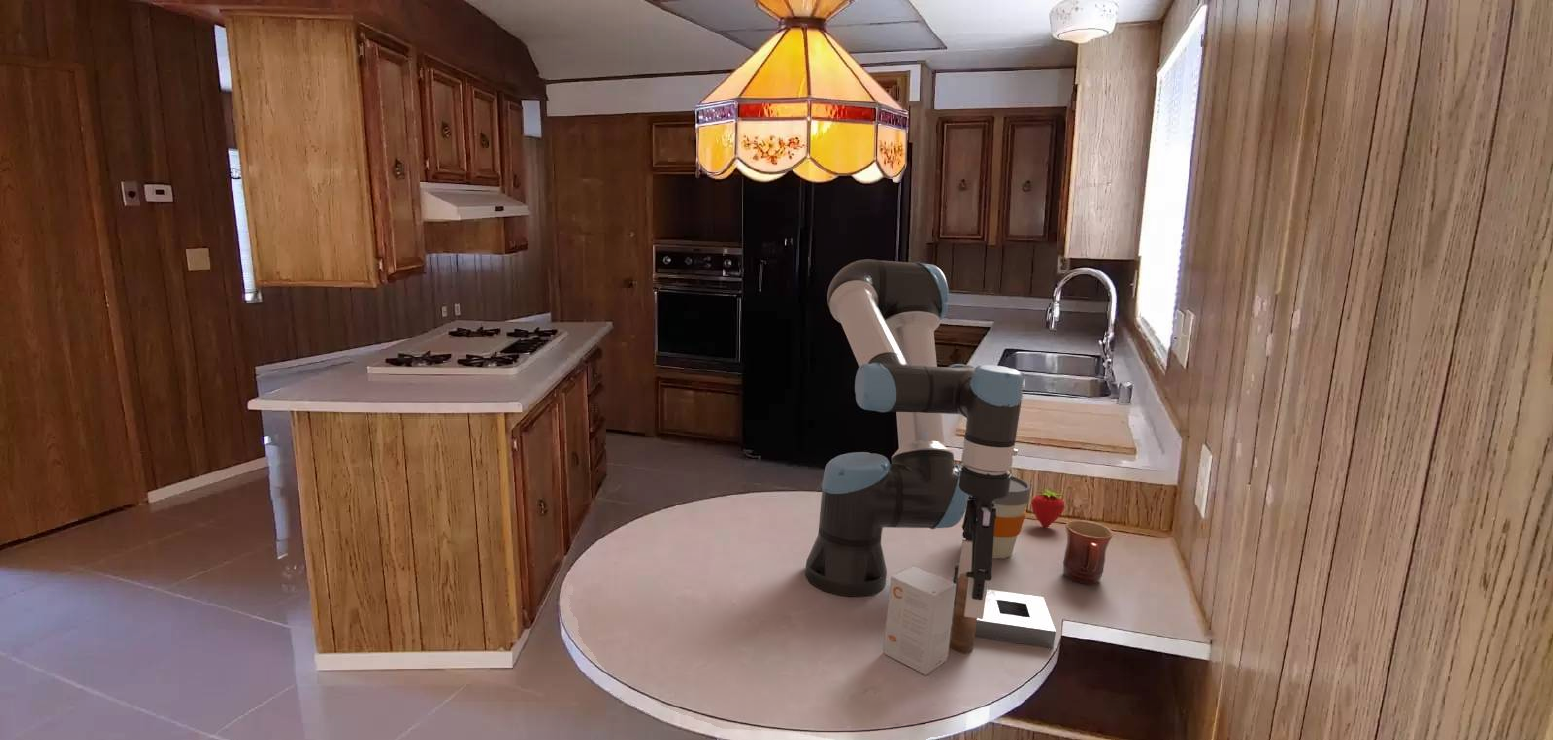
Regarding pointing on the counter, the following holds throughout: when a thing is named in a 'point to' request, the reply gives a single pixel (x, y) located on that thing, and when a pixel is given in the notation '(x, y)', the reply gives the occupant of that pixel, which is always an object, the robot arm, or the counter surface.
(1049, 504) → the strawberry
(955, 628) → the wooden cylinder
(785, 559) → the counter surface
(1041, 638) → the square hole fixture
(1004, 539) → the reusable coffee cup
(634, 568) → the counter surface
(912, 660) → the small box
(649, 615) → the counter surface
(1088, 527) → the mug
